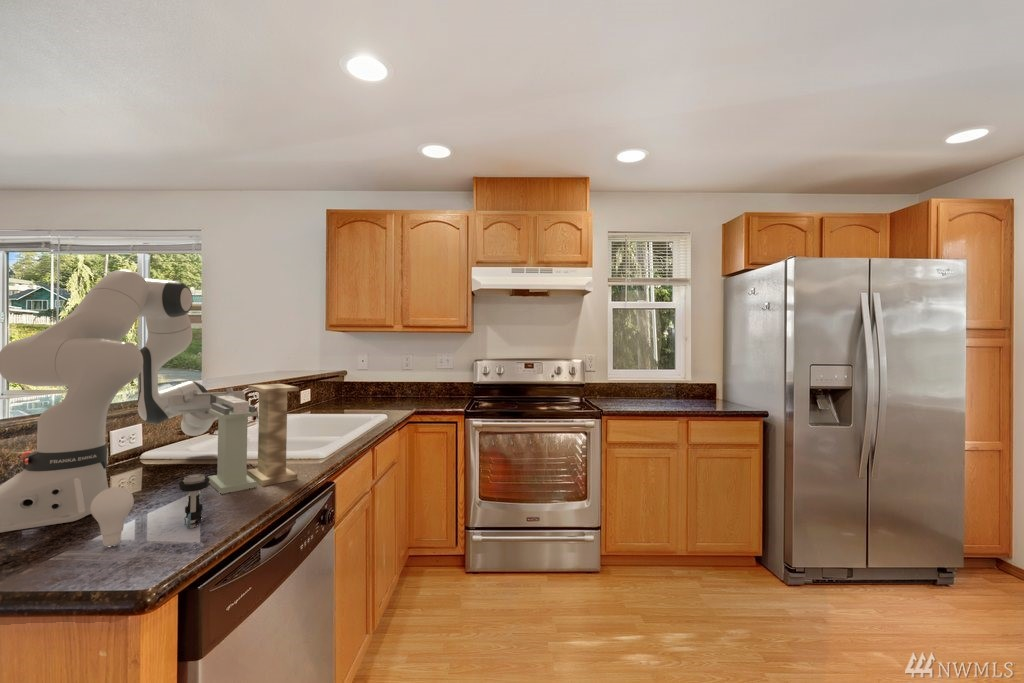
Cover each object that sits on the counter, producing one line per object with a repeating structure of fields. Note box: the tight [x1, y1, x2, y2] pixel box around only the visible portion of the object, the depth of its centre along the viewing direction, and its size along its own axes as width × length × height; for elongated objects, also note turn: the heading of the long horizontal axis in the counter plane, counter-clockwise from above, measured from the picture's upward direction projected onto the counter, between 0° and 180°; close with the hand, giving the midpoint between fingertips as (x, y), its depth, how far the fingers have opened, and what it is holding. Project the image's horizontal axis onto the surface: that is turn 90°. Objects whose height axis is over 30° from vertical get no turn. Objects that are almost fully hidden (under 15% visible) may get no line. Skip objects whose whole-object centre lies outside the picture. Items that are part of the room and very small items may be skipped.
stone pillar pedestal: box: [247, 383, 300, 487], centre depth 129 cm, size 9×14×26 cm, turn 45°
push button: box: [178, 473, 209, 529], centre depth 95 cm, size 7×5×10 cm
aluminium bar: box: [210, 393, 250, 415], centre depth 125 cm, size 4×26×3 cm, turn 45°
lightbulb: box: [90, 486, 135, 547], centre depth 84 cm, size 6×6×11 cm
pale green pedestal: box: [207, 403, 258, 495], centre depth 122 cm, size 8×14×22 cm, turn 45°
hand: (212, 390), depth 138 cm, fingers open, 8 cm apart
